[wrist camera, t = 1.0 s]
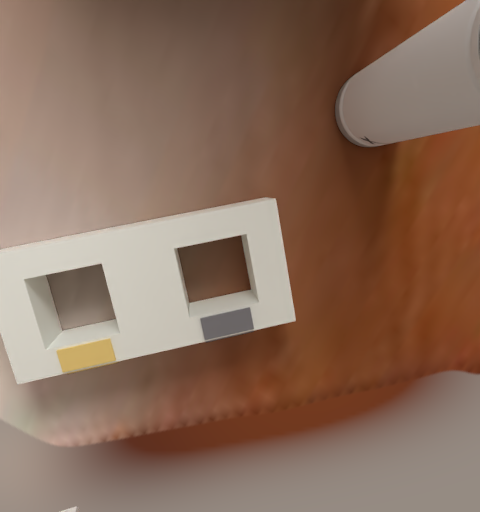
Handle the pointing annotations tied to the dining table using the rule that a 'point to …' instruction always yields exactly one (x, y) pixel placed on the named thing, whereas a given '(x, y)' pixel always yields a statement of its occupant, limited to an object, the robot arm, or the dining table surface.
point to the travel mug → (417, 84)
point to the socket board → (141, 290)
